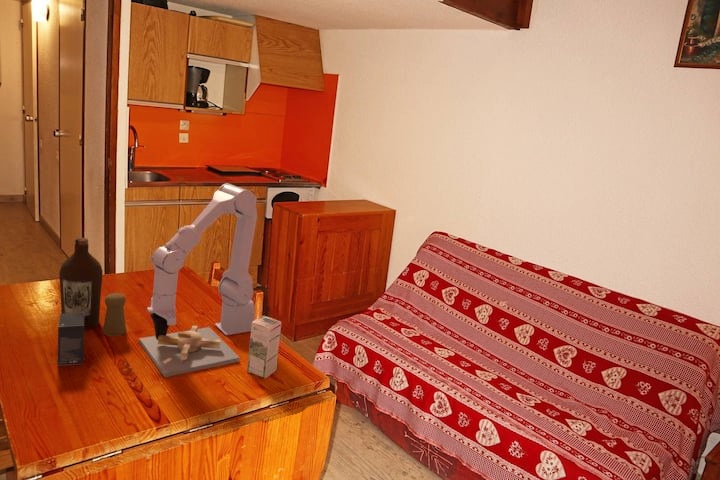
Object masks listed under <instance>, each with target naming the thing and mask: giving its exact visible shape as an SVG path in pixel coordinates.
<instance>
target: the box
mask: <svg viewBox="0 0 720 480" xmlns="http://www.w3.org/2000/svg"><path fill="white" fill-rule="evenodd" d="M57 328H58V329H57V366H58V367H60V366H74V365H75V366H76V365H83V364H84V355H85V354H84V353H85V352H84V351H85V350H84V349H85V330H84V313H66V314H62V313H60V314H59V320H58V325H57Z"/></svg>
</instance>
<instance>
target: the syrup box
mask: <svg viewBox="0 0 720 480" xmlns="http://www.w3.org/2000/svg"><path fill="white" fill-rule="evenodd" d="M281 328H282V321H280V320H277V319H275V318H272V317H270V316H266V315H262V316H259V317H258V318H256V319H254V321H253V322H252V325H251V331H250V338H249V347H248V348H249V349H248V360H247V370H246V371H247V373H250V374H252V375H255V376H257V377H259V378H261V379H266V378H268V377H269V376H271V375H272V374H274V373H275V372H276V371H277V366H278V354H279V349H280V348H279V346H280V337H281V330H282V329H281Z"/></svg>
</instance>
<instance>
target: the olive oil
mask: <svg viewBox="0 0 720 480" xmlns="http://www.w3.org/2000/svg"><path fill="white" fill-rule="evenodd" d="M58 272H59V274H58V275H59V277H58V278H59V287H60V289H59V290H60V291H59V292H60V307H61V308H60V310H61V311H60V312H61V313H60V314H66V313H84V331H86V330H90V329H93V328H96V327H97V326H98V325H99V324H100V310H101V301H102V300H101V297H102V285H103V284H102V283H103V268H102V265H101V262H100V261H99V260H98V259H96V258H95V257H94V256H93V255H92V254H91V253H90V252H89V238H87V237H77V238H75V239H74V252H73V253H72V254H71V255H70V256H69V257H68V258H66V259H65V260H64V261H63V262H62V264H61V265H60V269H59V271H58Z"/></svg>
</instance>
